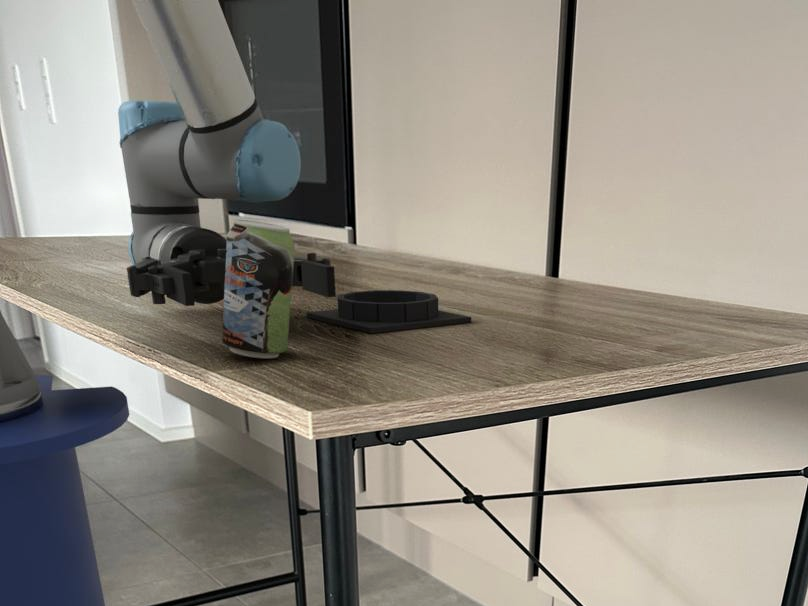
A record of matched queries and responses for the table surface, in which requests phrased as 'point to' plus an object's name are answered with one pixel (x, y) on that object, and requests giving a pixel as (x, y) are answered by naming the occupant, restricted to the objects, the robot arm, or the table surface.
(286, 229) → the beverage can
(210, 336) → the table surface
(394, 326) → the holder pad
